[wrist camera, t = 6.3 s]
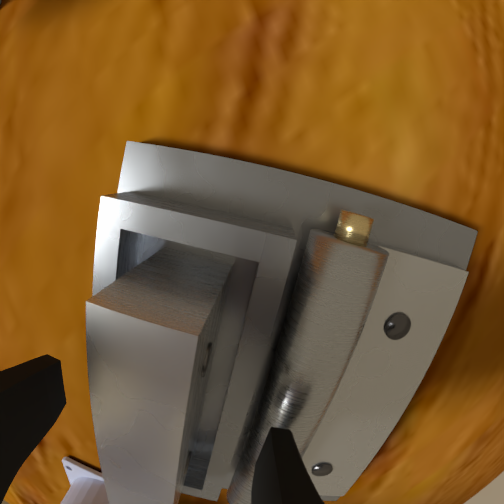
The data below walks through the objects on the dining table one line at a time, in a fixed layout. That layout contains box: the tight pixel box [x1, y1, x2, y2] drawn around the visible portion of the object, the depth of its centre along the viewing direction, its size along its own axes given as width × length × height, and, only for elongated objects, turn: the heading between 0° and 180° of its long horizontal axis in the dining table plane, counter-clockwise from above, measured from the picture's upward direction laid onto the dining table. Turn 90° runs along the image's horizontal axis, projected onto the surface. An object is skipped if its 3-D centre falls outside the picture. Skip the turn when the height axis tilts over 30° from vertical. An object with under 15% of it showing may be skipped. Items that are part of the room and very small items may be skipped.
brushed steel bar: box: [86, 247, 233, 504], centre depth 9 cm, size 9×2×5 cm, turn 167°
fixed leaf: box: [93, 141, 478, 504], centre depth 11 cm, size 16×13×3 cm
